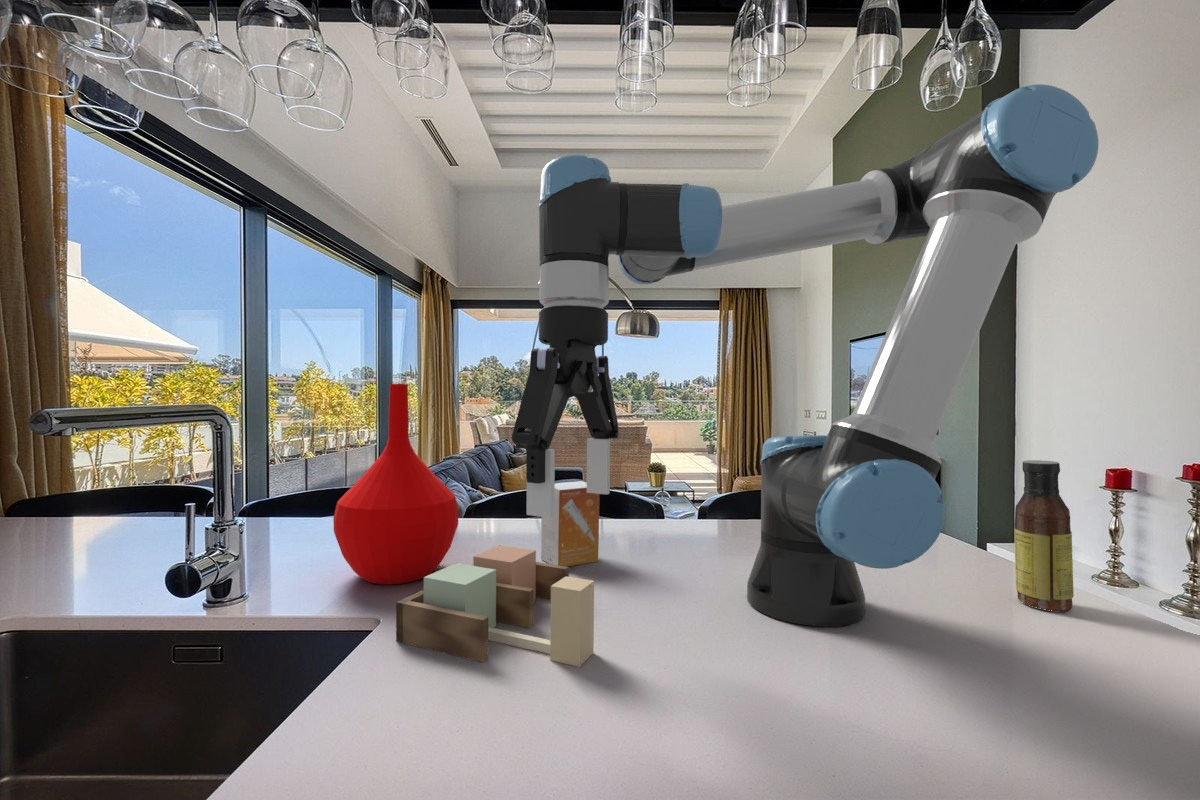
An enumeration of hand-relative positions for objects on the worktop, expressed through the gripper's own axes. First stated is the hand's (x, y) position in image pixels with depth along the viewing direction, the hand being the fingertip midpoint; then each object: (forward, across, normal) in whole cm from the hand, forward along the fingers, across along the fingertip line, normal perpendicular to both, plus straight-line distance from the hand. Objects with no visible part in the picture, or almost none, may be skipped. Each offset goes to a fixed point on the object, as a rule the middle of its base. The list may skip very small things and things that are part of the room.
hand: (572, 503), depth 61 cm
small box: (+17, -30, -16) cm, 38 cm away
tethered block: (+17, 0, -8) cm, 18 cm away
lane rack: (+17, -4, -14) cm, 22 cm away
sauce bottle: (+17, -41, +52) cm, 68 cm away
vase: (+17, -12, -37) cm, 42 cm away
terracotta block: (+17, -9, -15) cm, 24 cm away
